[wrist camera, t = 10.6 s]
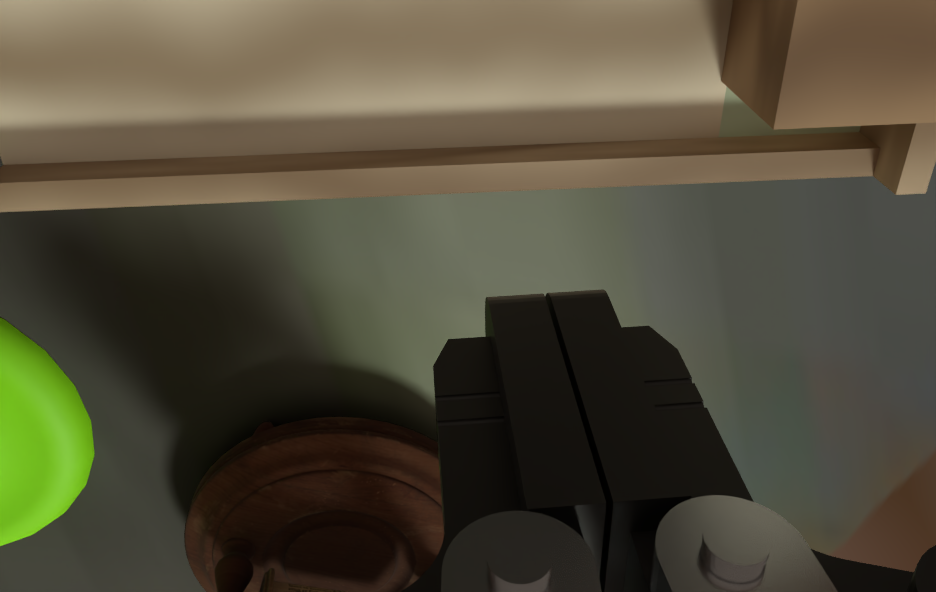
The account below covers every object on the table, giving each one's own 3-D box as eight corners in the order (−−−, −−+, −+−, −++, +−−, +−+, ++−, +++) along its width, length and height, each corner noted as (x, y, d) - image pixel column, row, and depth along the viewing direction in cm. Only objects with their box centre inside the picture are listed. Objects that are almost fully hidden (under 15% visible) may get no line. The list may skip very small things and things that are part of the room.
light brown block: (745, -84, 25) (809, -59, 21) (906, -88, 25) (999, -65, 21) (720, 81, 27) (773, 129, 23) (867, 75, 28) (942, 122, 24)
